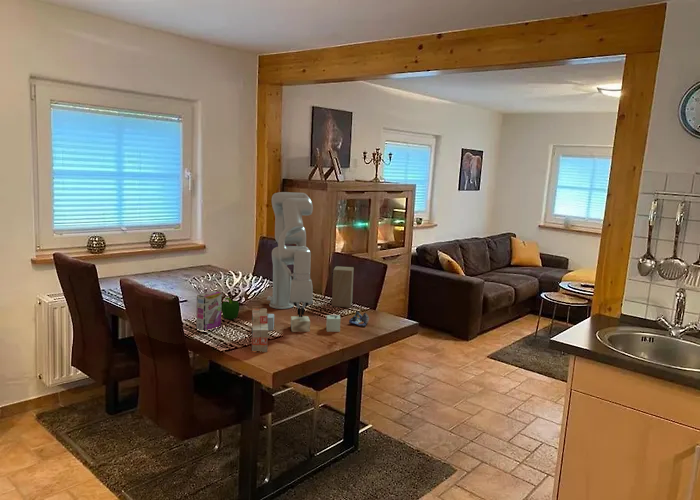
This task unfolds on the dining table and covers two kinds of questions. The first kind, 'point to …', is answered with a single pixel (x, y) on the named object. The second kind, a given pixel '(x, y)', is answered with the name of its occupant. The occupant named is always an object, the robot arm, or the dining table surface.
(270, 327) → the grey-blue numbered cube
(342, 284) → the wooden block
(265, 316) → the stack of blocks
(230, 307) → the bell pepper
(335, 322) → the sage numbered cube
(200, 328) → the candy bar box
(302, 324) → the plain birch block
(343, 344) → the dining table surface
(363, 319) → the snack package
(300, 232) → the robot arm
